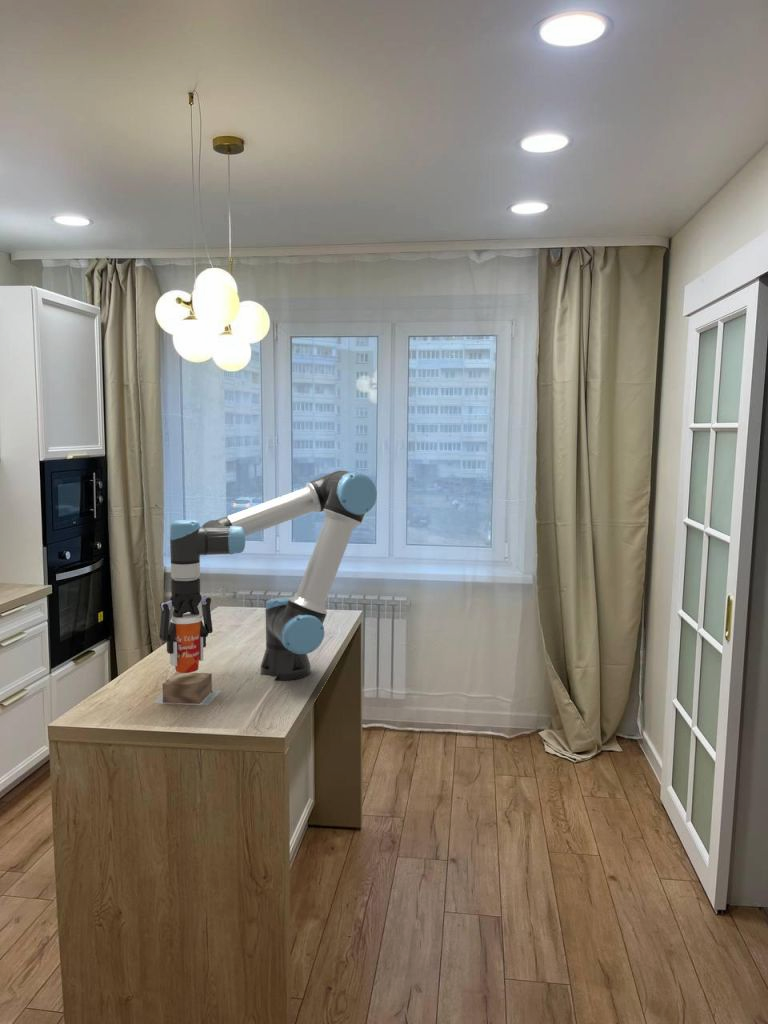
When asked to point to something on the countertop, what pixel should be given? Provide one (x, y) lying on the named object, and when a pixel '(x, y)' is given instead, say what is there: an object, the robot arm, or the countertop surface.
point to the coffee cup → (187, 642)
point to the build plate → (204, 702)
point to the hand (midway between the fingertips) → (187, 662)
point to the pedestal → (187, 688)
